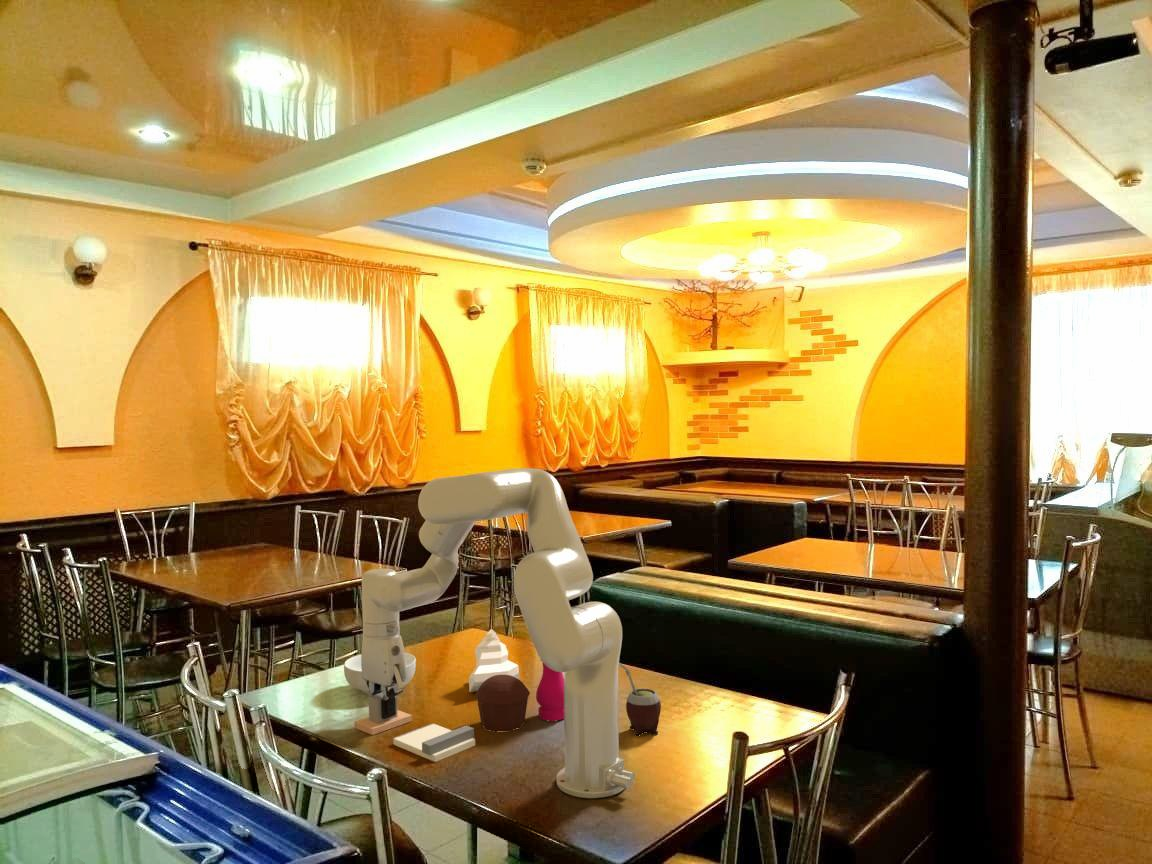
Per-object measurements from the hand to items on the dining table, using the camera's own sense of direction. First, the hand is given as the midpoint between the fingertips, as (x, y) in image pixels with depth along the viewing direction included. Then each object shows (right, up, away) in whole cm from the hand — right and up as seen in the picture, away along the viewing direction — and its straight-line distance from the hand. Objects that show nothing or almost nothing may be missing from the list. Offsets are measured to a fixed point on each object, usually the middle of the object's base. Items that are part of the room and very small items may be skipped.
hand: (383, 714), depth 172 cm
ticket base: (+13, -2, -11) cm, 17 cm away
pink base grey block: (0, -2, 0) cm, 2 cm away
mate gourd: (+54, -2, -6) cm, 54 cm away
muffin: (+25, -2, -1) cm, 26 cm away
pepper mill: (+36, -2, +3) cm, 36 cm away
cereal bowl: (-6, -2, +23) cm, 23 cm away
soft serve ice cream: (+20, -2, +24) cm, 31 cm away
